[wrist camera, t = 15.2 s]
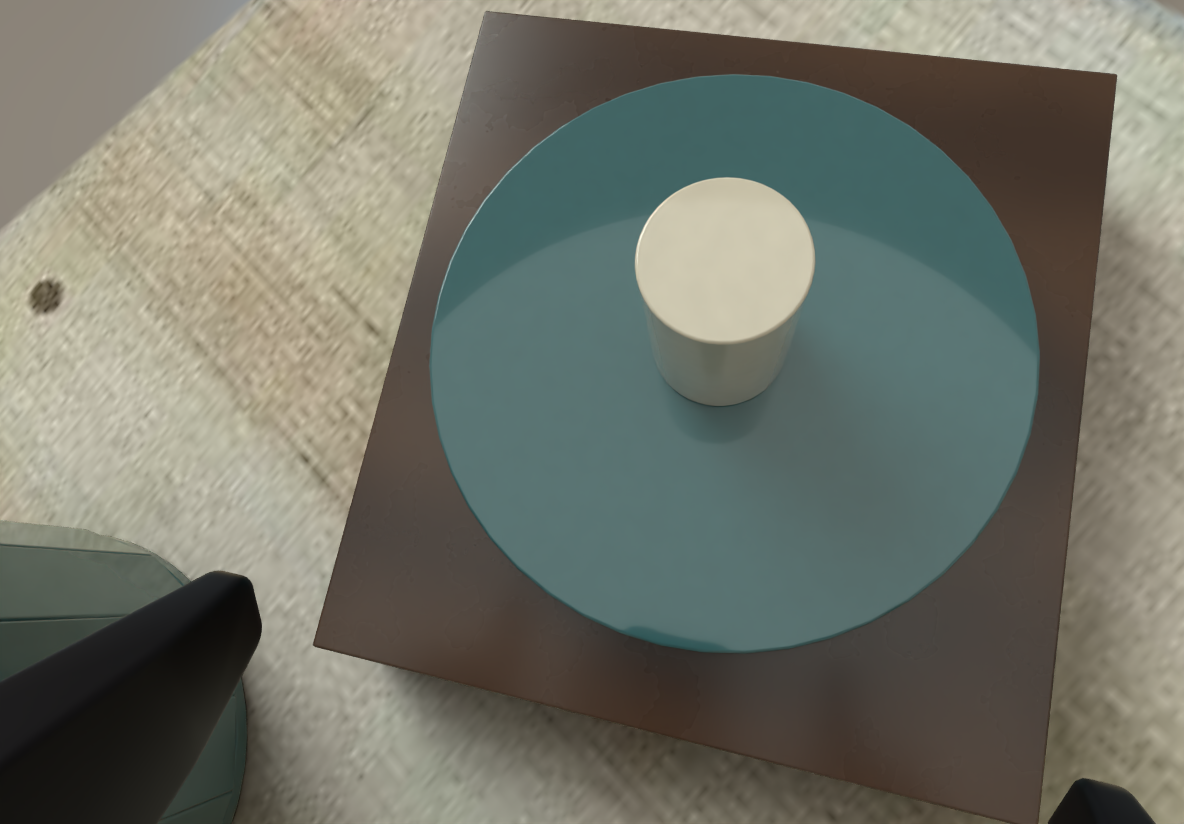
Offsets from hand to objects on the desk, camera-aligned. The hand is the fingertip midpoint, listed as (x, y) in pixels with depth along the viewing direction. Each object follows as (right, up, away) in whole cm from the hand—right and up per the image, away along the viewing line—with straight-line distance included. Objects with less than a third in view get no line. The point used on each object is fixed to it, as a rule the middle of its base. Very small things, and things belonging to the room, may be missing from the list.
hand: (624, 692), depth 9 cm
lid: (+2, +4, +7) cm, 9 cm away
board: (+3, +4, +11) cm, 12 cm away
